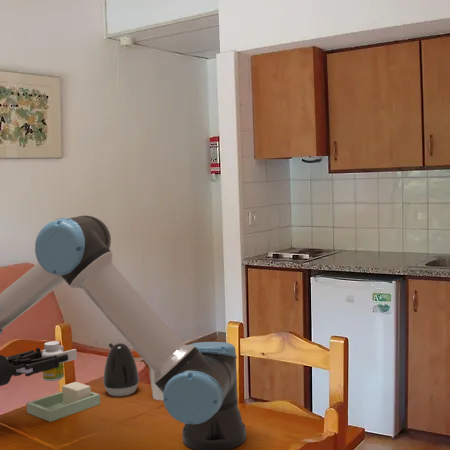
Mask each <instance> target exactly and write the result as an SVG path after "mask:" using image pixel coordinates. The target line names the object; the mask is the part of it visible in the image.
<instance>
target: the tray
mask: <svg viewBox="0 0 450 450" xmlns="http://www.w3.org/2000/svg"><path fill="white" fill-rule="evenodd" d="M99 405H101V393H100V394H99V393H96V392H94V391H91V396H89V397H87V398H84V399H81V400H78V401H75V402H72V403H69V404H63V395H62V391H60V392H56V393H53V394H50V395H46V396H43V397H40V398H38V399H37V398H36V399H35V400H31V401H28V402H26V413H27V414H29V415H31V416H34V417H36V418H38V419H42V420H43V421H47V422H50V423H51V422H54V421H57V420H59V419H62V418H65V417H68V416H71V415H75V414H76V413H80V412H83V411H85V410H88V409H91V408H93V407H97V406H99Z"/></svg>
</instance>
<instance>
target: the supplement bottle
mask: <svg viewBox="0 0 450 450" xmlns="http://www.w3.org/2000/svg"><path fill="white" fill-rule="evenodd" d="M43 346H44V347H43V348H44V350H45V351H44V352H43V353H42V358H44V357H49V356H54V354H57V353H61V352H62V350H60V349H59V348H60V346H61V345H60V342H59V341H57V340H56V341H55V340H53V341H51V340H50V341H46V342H45V343H44V344H43ZM64 373H65V370H64V363H61V364H59V367H58V368H54V369H50V370H46V371H43V372H42V378H43V380H44V381H45V382H55V381H57V382H58V381H60V380H63V378H64V377H65V374H64Z"/></svg>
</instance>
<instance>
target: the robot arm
mask: <svg viewBox="0 0 450 450" xmlns="http://www.w3.org/2000/svg"><path fill="white" fill-rule="evenodd" d="M111 243H112V237H111V233H110V231H109V228H108V227H107V225H106V224H105V222H103V221H102V220H100V219H99V218H97V217H95V216H92V215H79V216H73V217H61V218H57V219H55V220H53V221H50V222H48V223H46V224H45V225H44V226H43V227H42V228H41V229H40V230H39V232H38V233H37V236H36V239H35V243H34V245H35V246H34V252H35V254H34V255H35V258H36V260H37V263H36V264H35V265H34V266H32V267H31V268H30V269H29V270H27V271H26V272H25V273H24V274H22V276H20V277H19V278H18V279H17V280H15V281H14V282H12V283H11V284H10V285H9V286H7V287H6V288H5V289H4V290H3V291H1V293H0V335H1V334H2V333H3V331H4V329H6V328H7V327H8V326H10V325H11V324H12V323H13V322H14V321H15V320H17V319H18V318H20V317H21V316H22V315H23V314H25V313H26V312H27V311H28V310H30V309H31V308H32V307H34V306H35V305H36V304H38V303H39V302H41V300H43V299H44V298H45V297H46V296H47V295H49V294H50V293H51V292H53V291H54V290H55V289H57V288H58V287H59V286H61V284H63V283H65V282H66V283H67V285H68V286H69V287H70V288H72V289H80V290H82V291H83V292H84V293H85V294H86V296H88V298H89V299H90V300H91V301H92V302H93V303H94V305H96V306H97V308H98V309H99V310H100V312H102V314H103V315H104V316H105V317H106V318H107V320H108V321H109V322H110V323H111V325H113V326H114V327H115V328H116V330H117V331H118V332H119V333H120V334H121V336H123V338H124V339H125V340H126V342H128V343H129V345H131V347H132V348H133V349H134V351H136V353H137V354H138V355H139V356H140V357H141V359H142V360H143V361H144V362H145V364H147V366H148V367H149V366H150V367H151V369H152V370H153V371H154V383H155V384H156V385H157V387H158V388H159V389H160V390H161V391H162V392H163V398H164V400H163V404H164V407H165V409H166V411H167V413H168V414H169V415H170V416H171V417H172V418H173V419H175V420H176V421H178V422H180V423H182V424H184V426H183V428H182V442H183V444H184V445H185V446H186V447H188V448H189V449H193V450H231V449H234V448H237V447H239V446H241V445H242V444H243V443H244V442H245V441H246V439H247V430H246V429H247V427H246V425H245V423H244V422H243V418H242V414H241V412H240V409H239V406H238V381H237V380H238V376H237V374H238V373H237V372H238V371H237V358H238V356H237V353H236V347H235V345H234V344H232V343H230V342H224V341H200V342H193V343H191V344H190V343H189V344H185V343H183V342H182V340H180V338H179V337H178V336H177V335H176V333H174V332H173V331H172V329H171V328H170V327H169V325H167V324H166V322H164V320H163V319H162V318H161V317H160V316H159V315H158V313H157V312H156V311H155V310H154V309H153V307H152V306H150V304H149V303H148V302H147V301H146V300H145V299H144V297H143V296H142V295H141V294H140V293H139V291H137V290H136V288H135V287H134V286H133V285H132V284H131V283H130V282H129V280H128V279H127V278H126V277H125V276H124V275H123V274H122V272H121V271H120V270H119V269H118V268H117V267H116V266H115V264H114V263H113V252H112V251H111V249H110V248H111ZM59 349H60V350H62V352H61V353H57V354H54V356H49V357H44V358H42V353H43V352H44V351H45V349H42V350H41V348H40V347H37V348H35V350H34V349H31V350H29V351H23V352H20V353H16V354H13V355H8V356H4V355H2V354H0V387H1V386H5V385H8V384H9V383H10V382H11V378H12V377H13V376H14V377H19V376H22V375H23V374H25V375H24V376H25V377H31V376H32V375H35V374H39V373H43V371H46V370H50V369H54V368H58V367H59V364H61V363H63V364H65V363H67V362H71V361H75V360H77V359H78V357H77V353H78V352H77V348H74V349H73V348H72V349H69V350H66V351H65V350H64V345H60V348H59ZM150 367H149V368H150Z"/></svg>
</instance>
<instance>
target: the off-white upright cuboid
mask: <svg viewBox="0 0 450 450" xmlns="http://www.w3.org/2000/svg"><path fill="white" fill-rule="evenodd" d="M61 392H62V395H63V404H69V403H72V402H75V401H78V400H81V399H84V398H87V397H89V396H91V392H92V390H91V386H90V385H88V384H84V383H81V382H78V381H73V382H71V383H68V384H63V385H61Z"/></svg>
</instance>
